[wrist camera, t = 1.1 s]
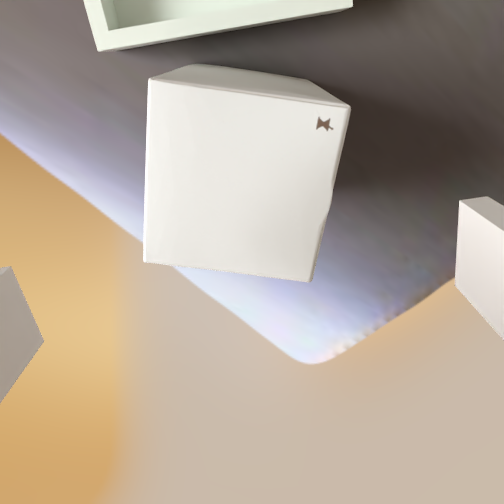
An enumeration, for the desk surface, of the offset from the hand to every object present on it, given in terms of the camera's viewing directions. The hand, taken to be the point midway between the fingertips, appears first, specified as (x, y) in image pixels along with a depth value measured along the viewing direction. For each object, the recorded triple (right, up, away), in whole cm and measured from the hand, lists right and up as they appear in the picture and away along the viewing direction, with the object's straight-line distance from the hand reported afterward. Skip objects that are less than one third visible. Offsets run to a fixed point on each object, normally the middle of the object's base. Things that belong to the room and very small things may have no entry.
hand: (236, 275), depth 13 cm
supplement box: (0, +10, +21) cm, 23 cm away
